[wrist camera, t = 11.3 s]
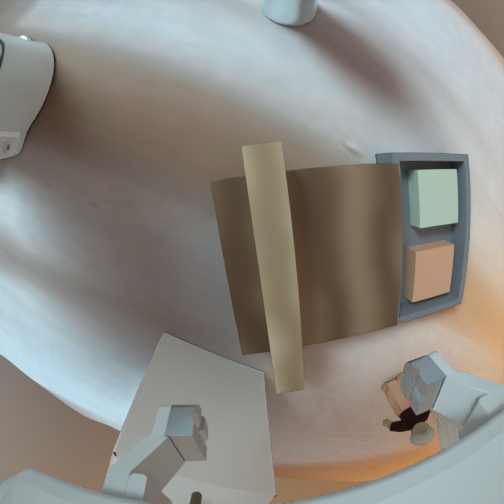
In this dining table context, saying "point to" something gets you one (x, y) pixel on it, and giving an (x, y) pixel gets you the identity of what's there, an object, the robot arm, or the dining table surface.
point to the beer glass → (289, 11)
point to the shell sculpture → (447, 429)
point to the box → (434, 229)
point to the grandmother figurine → (406, 414)
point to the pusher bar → (276, 260)
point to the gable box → (208, 424)
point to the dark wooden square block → (321, 251)
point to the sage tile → (433, 197)
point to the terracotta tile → (428, 270)
